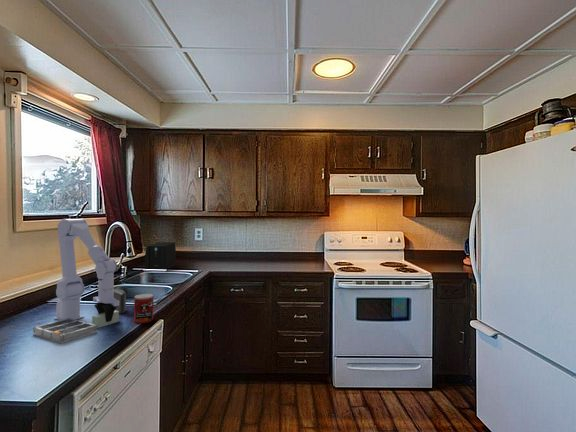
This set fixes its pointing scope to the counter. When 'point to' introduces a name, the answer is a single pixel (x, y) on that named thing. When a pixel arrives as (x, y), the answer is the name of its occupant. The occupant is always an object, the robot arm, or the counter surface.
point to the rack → (64, 330)
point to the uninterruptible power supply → (160, 255)
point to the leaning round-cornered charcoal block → (120, 300)
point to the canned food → (143, 308)
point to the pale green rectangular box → (101, 320)
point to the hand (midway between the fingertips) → (105, 320)
